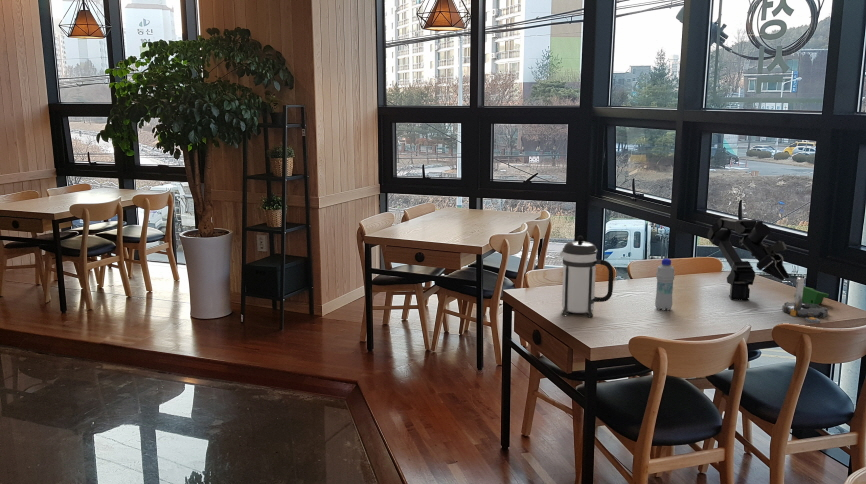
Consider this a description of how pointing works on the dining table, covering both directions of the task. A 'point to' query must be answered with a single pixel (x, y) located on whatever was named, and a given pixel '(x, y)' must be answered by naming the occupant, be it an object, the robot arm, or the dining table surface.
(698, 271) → the dining table surface
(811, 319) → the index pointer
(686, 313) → the dining table surface
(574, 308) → the coffee press
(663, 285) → the bottle
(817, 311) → the sprocket
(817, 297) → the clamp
